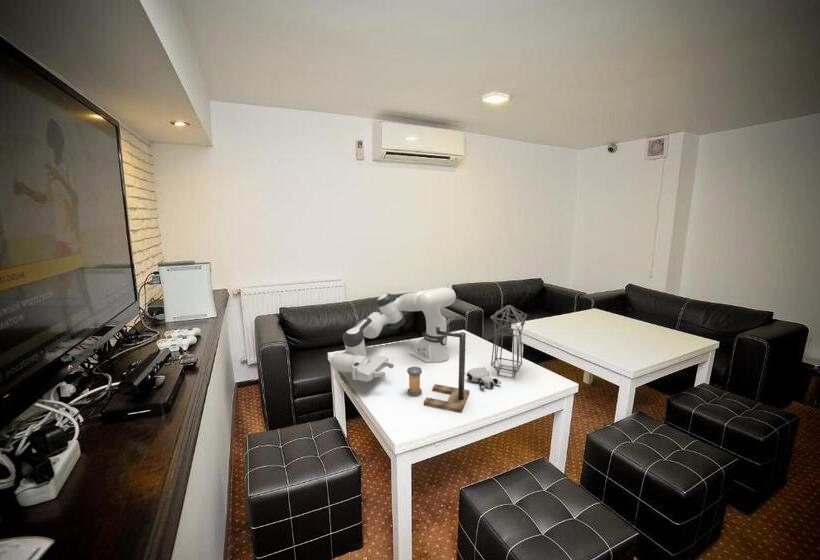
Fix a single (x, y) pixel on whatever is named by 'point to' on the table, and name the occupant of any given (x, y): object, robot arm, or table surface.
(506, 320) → the geometric lantern
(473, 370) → the robot toy
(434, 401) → the notched board
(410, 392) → the cord spool
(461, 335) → the hook stand
